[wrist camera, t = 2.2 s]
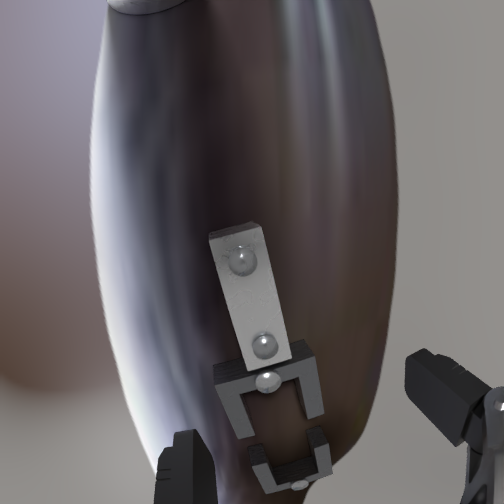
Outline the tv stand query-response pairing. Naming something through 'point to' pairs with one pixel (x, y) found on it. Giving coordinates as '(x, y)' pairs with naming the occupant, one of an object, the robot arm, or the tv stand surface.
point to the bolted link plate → (250, 294)
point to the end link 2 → (293, 465)
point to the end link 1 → (267, 385)
